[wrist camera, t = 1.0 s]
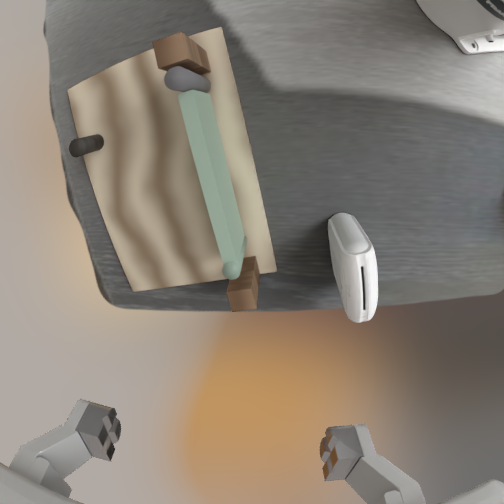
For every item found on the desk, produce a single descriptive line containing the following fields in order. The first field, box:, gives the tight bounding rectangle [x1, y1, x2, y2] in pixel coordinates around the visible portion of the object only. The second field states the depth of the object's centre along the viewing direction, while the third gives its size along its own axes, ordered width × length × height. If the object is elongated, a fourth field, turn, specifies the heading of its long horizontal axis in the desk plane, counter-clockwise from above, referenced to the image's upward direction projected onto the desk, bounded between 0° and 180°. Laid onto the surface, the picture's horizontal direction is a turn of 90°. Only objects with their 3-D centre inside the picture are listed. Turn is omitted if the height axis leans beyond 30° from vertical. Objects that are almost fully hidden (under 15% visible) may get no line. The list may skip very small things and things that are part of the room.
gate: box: [164, 66, 247, 280], centre depth 32 cm, size 23×2×10 cm, turn 12°
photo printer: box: [328, 213, 378, 323], centre depth 36 cm, size 10×4×12 cm, turn 13°
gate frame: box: [67, 27, 277, 312], centre depth 34 cm, size 24×34×11 cm
